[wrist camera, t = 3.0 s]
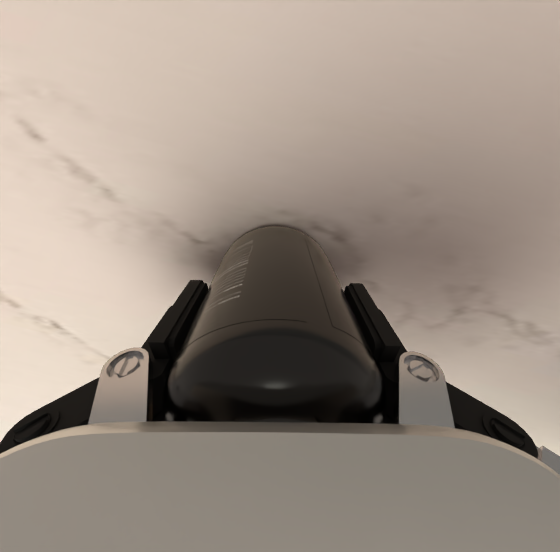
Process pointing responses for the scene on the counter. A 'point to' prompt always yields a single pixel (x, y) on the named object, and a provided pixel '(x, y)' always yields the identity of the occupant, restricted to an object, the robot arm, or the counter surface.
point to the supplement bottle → (275, 342)
